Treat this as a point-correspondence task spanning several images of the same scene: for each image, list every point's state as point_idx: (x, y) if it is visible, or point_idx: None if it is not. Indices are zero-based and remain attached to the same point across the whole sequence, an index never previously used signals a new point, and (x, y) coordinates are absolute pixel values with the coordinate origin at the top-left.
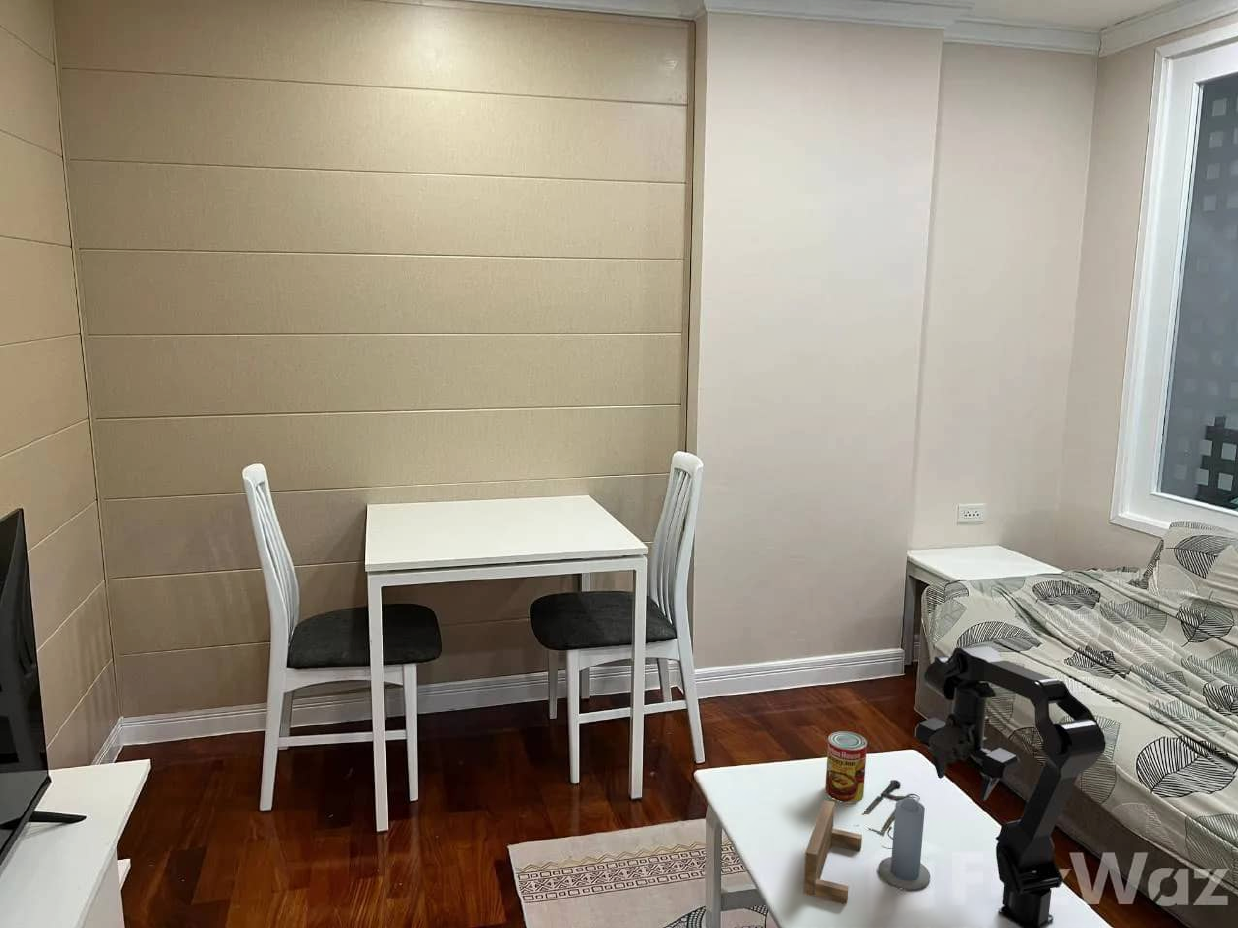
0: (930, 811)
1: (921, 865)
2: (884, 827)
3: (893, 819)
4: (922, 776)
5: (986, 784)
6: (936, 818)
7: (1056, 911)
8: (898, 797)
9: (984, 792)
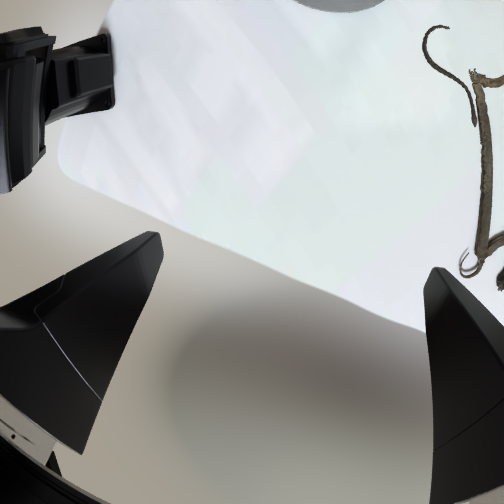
0: (429, 249)
1: (321, 4)
2: (483, 110)
3: (482, 159)
4: None
5: (49, 289)
6: (409, 234)
7: (74, 138)
8: (495, 244)
9: (103, 255)
